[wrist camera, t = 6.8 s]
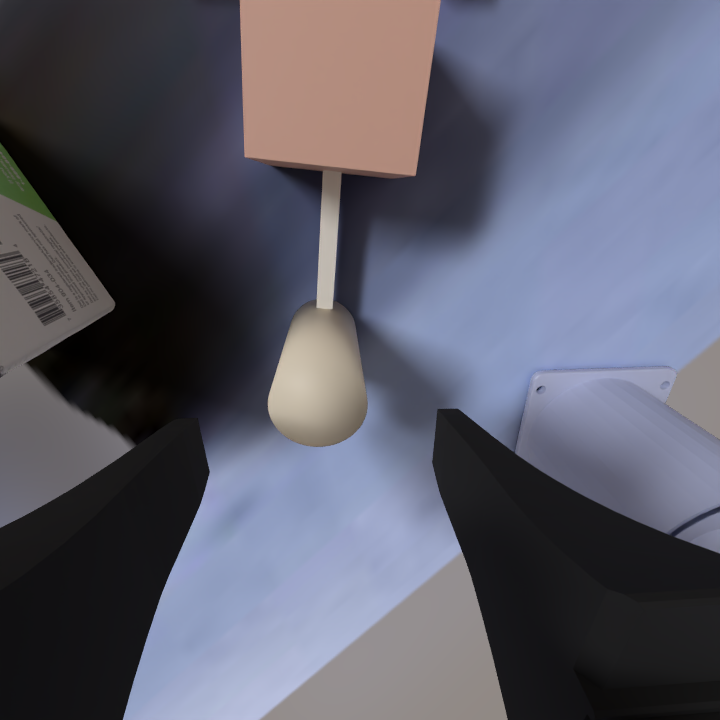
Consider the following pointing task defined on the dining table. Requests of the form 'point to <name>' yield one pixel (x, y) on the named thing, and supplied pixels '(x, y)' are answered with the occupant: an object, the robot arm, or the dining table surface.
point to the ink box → (39, 275)
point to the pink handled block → (332, 163)
